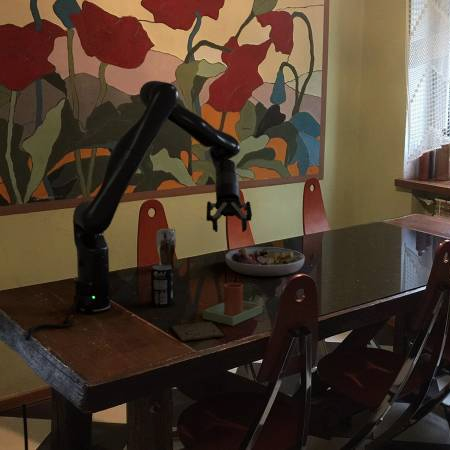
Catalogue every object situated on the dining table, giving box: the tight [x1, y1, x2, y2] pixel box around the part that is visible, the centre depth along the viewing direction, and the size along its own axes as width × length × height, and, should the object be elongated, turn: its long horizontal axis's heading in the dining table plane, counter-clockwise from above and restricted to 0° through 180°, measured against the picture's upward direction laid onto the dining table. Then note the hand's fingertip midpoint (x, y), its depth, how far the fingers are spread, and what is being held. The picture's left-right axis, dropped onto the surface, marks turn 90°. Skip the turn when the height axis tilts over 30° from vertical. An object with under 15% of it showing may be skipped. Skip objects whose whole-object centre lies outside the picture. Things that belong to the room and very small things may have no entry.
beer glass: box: [156, 228, 177, 272], centre depth 267 cm, size 7×7×15 cm
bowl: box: [224, 246, 306, 278], centre depth 273 cm, size 30×30×8 cm
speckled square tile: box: [171, 320, 225, 342], centre depth 203 cm, size 12×12×1 cm
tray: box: [202, 300, 263, 327], centre depth 218 cm, size 15×11×2 cm
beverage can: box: [150, 264, 174, 307], centre depth 226 cm, size 7×7×12 cm
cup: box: [223, 282, 244, 317], centre depth 217 cm, size 6×6×9 cm
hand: (230, 230), depth 225 cm, fingers open, 8 cm apart
